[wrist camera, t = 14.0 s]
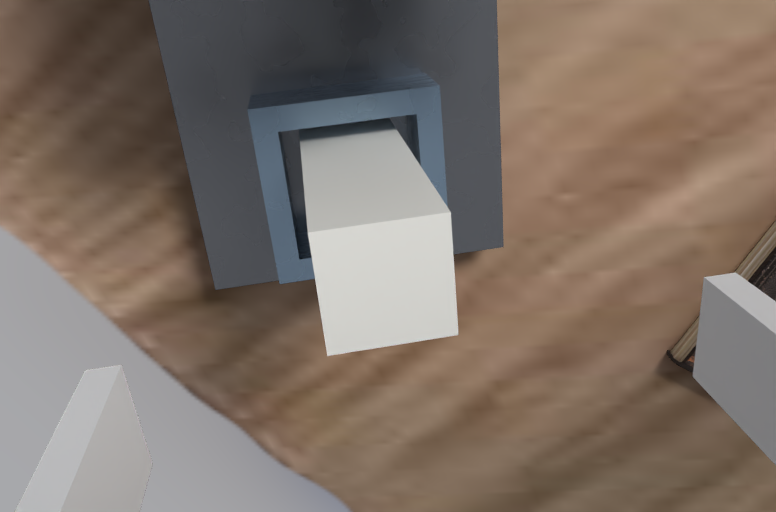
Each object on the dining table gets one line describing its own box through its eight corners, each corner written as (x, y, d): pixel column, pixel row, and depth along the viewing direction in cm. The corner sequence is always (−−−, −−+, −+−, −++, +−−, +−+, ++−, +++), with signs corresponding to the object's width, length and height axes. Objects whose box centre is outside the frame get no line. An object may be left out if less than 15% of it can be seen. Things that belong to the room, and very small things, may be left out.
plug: (298, 130, 29) (307, 232, 18) (389, 118, 30) (450, 211, 19) (314, 231, 31) (330, 378, 20) (399, 219, 32) (460, 356, 21)
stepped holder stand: (80, -342, 24) (-197, -750, 10) (470, -368, 25) (698, -763, 11) (219, 272, 34) (174, 486, 20) (492, 231, 35) (625, 408, 21)
